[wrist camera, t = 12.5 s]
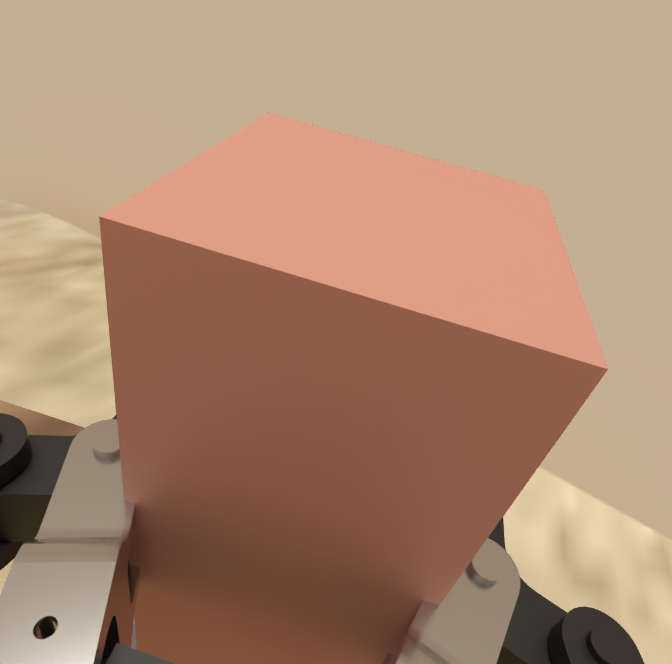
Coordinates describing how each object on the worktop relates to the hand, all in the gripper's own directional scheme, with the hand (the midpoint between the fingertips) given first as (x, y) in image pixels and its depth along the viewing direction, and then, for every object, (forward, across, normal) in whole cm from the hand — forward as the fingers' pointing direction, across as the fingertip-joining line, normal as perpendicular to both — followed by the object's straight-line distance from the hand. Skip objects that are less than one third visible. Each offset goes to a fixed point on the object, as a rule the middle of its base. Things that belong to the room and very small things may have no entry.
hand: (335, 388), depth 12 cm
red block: (-3, 0, +8) cm, 9 cm away
